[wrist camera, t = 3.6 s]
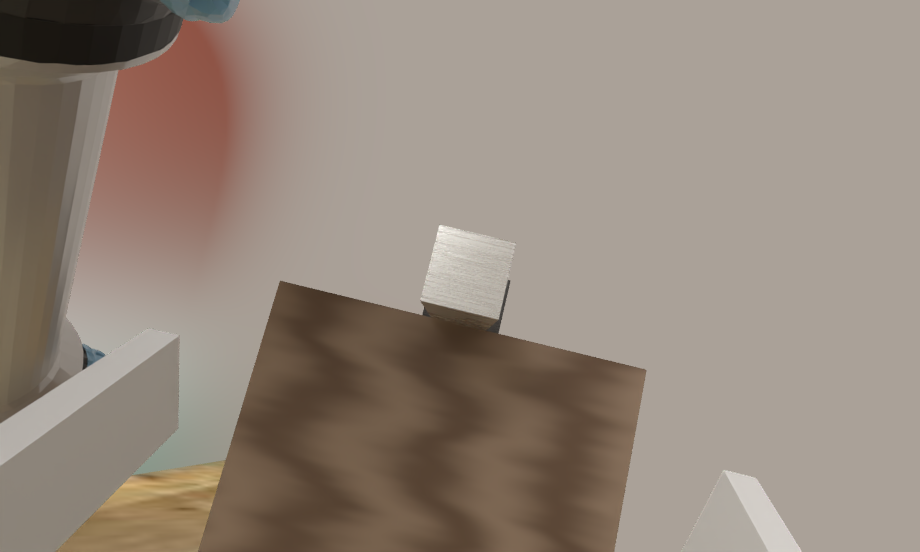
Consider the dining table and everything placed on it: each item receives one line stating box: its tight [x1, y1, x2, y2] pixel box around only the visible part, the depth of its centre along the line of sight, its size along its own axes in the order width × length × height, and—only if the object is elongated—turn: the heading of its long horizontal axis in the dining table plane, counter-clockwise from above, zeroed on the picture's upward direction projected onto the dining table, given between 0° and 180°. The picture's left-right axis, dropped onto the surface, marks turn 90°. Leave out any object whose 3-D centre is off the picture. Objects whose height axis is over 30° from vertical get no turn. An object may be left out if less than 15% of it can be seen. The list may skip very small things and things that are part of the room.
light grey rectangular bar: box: [420, 225, 516, 334], centre depth 32 cm, size 6×26×5 cm, turn 0°
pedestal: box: [198, 281, 646, 552], centre depth 34 cm, size 20×20×30 cm
